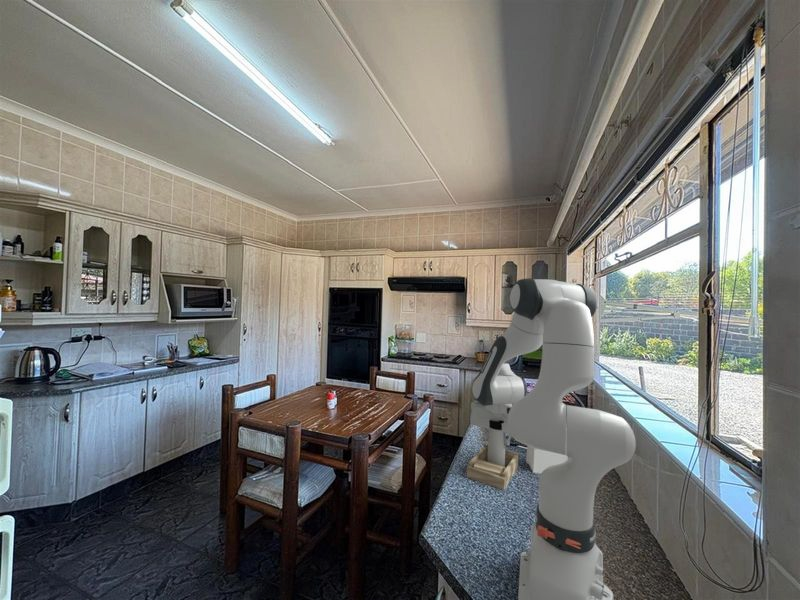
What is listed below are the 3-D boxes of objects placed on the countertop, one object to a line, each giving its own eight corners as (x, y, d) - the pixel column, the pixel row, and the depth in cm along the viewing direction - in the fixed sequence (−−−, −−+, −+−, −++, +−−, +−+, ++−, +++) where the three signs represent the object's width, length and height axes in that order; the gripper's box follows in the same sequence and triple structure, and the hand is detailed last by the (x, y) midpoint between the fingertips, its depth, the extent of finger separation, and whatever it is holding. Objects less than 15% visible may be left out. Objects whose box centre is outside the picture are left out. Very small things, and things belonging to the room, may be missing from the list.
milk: (558, 464, 125) (559, 398, 125) (568, 480, 113) (569, 407, 114) (526, 461, 127) (527, 396, 127) (532, 476, 116) (534, 405, 116)
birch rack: (504, 494, 104) (504, 472, 104) (466, 481, 111) (467, 460, 111) (517, 471, 119) (518, 452, 119) (484, 461, 126) (484, 443, 126)
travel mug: (492, 477, 114) (494, 421, 114) (484, 468, 120) (485, 415, 121) (508, 476, 115) (509, 421, 116) (499, 466, 122) (500, 414, 122)
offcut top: (499, 479, 107) (499, 473, 107) (473, 471, 111) (473, 466, 111) (502, 472, 111) (502, 466, 111) (477, 465, 115) (477, 460, 115)
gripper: (468, 401, 122) (467, 437, 121) (523, 412, 110) (522, 452, 110) (474, 397, 127) (473, 432, 127) (527, 408, 115) (526, 446, 115)
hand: (496, 442), depth 118 cm, fingers closed on travel mug, 6 cm apart
